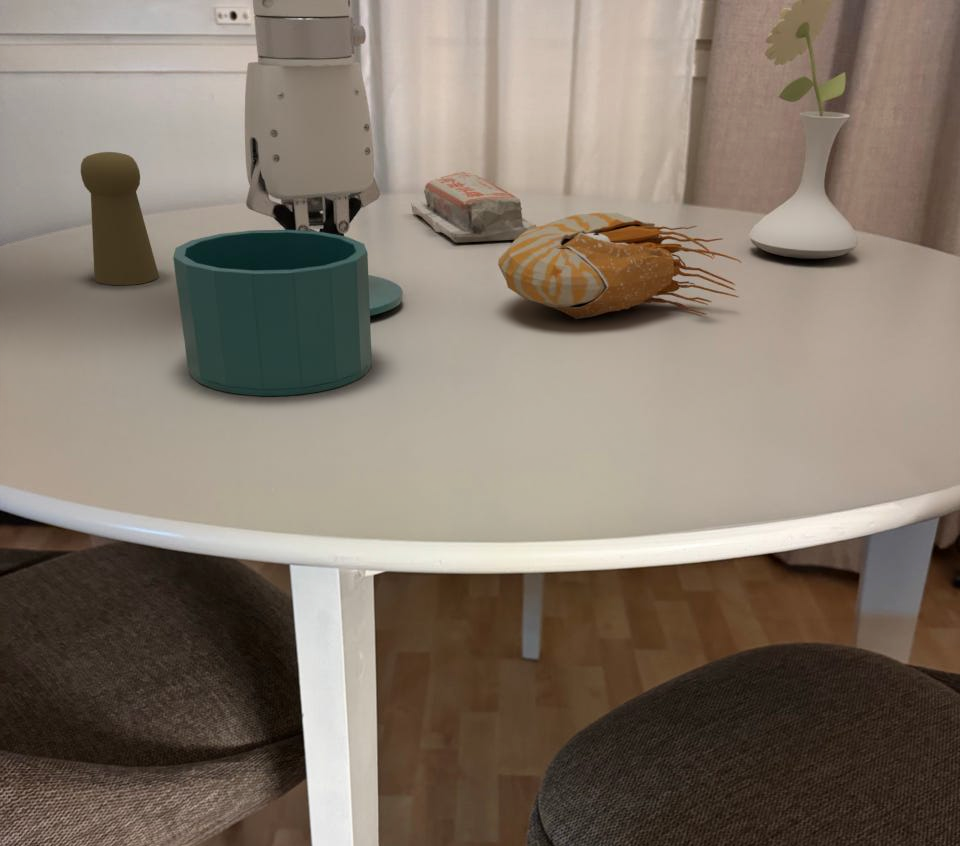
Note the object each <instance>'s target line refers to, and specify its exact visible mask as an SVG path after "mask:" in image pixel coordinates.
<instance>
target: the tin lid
mask: <svg viewBox="0 0 960 846" xmlns="http://www.w3.org/2000/svg"><path fill="white" fill-rule="evenodd" d="M309 229H310V231H315V232H318V231H317V230H315V229H313V228H309ZM368 280H369V305H370V317H371V316H375V315H378V314H383V313H385V312H387V311H390V310H392V309H394V308H396V307H398V306H399V305H400V304H401V303H402V302H403V299H404V291H403V288H402V287H401V285H399V284H397V283H396V282H394V281H393V280H389V279H387V278H384V277H380V276H375V275H371V274H368Z"/></svg>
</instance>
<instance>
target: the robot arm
mask: <svg viewBox="0 0 960 846" xmlns="http://www.w3.org/2000/svg"><path fill="white" fill-rule="evenodd" d="M252 7H253V15H254V16H253V20H254V31H255V41H256V53H257V61H252V62H247V68H246V78H245V80H246V81H245V93H244V94H245V96H244V147H245V149H244V150H245V151H244V152H245V153H244V154H245V168H246V176H247V181H248V184H249V187H248V188H249V189H248V193H247V197H246V200H245V204H246V208H247V209H249V210H250V211H252V212H255V213H258V214H261V215H264V216H268V217H270V218H273V219H274V220H275V221H276V222H277V223H278V224H279V225H280V226H281V227H282V228H283V230H300V231H310V229H311V228H310V225H309V218H308V206H307V198H314V197H322V203H323V211H322V213H323V222H324V223H323V224H322V227H321V228H319V230H318V232H324V233H329V234H335V235H340V236H345V234H347V233H348V232H349V230H350V227H351V226H350V224H351V223H352V222H353V220H354V219H355V217H356V216H357V215H358V213H359V212H360V210H361V209H362V208H366V207H367V206H368V205H370V204H372V203H375V202H376V201H377V200H378V199H379V198H380V197H381V193H380V189H379V186H378V184H377V181H376V178H375V156H374V155H375V154H374V153H375V152H374V142H373V131H372V123H371V114H370V109H369V107H370V106H369V102H368V96H367V91H366V87H365V81H364V77H363V73H362V69H361V65H360V62H358V61H354V59H353V55H354V54H355V47H356V46H357V45H364V44H365V42H366V36H367V34H366V30H365V27H364V26H363V25H356V24H355V23H354V20H353V19H354V18H353V17H352V16H351V1H350V0H252ZM270 196H271V197H272V198H275V199H277V200H280V202H276V201H273V200H271V199H270Z"/></svg>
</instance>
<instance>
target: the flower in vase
mask: <svg viewBox="0 0 960 846" xmlns="http://www.w3.org/2000/svg"><path fill="white" fill-rule="evenodd" d="M832 6H833V3H832V0H794V2H793V3H792V5H791V8H790V7H785V8H783V9H782V10H781V12H780V14H779V19H780V20H778V22H776V24H774V25H773V26H772V28H771V31H770V33H769V34H768V35H767V37H766V38H765V43H766V44H770V45H769V47H767V49H765V51H764V56H766V58H767V59H768V60H769V61H772V60H774V62H773V65H775V66H778V65H781V66H783V65H785V64H786V63H788V62H792V61H794V60H795V59H796V58H797V56H798V55H799V56H802V55H803V54H804V53H806V52H807V50H808V53H809V57H810V64H811V75H812V79H810V78H809V77H808V76H800V77H798V78H796V79H793V80H792V81H790V82H789V83H788V84H787V85H786V86H784V88H783V89H782V90H781V92H780V94H779V96H778V98H779V99H781V100H784V101H786V102H790V103H795V102H797V101H800V100H801V99H802V98H803V97H804V96H805V95H806V94H808V92H809V91H811V89H812V87H813V89H814V93H815V98H816V102H817V107H818V110H817V111H816V110H812V111H811V110H810V111H801V112H798V116H799V118H800V120H801V122H802V125H803V128H804V134H805V157H804V167H803V173H802V176H801V180H800V183H799V186H798V188H797V190H796V191H795V193H794V194H793V195H792V196H790V197H789V199H787V200H786V201H784V202H783V203H782V204H781V205H779V206H778V207H776V208H775V209H773V210H772V211H770V212H769V213H768V214H766V215H765V216H764V217H762V218H761V219H760V220H759V221H758V222H757V223H756V224H755V225H754V226H752V229H751V230H750V233H749V235H748V237H749V240H750V242H751V244H753V245H754V246H755V247H757V248H759V249H760V250H762V251H764V252H766V253H770V254H773V255H776V256H781V257H785V258H794V259H803V260H804V259H805V260H806V259H807V260H816V259H817V260H818V259H819V260H820V259H828V258H835V257H836V258H837V257H840V256H843V255H845V254H849V253H850V252H852V251H854V249H856V247H857V246H858V244H859V241H858V234H857V232H856V231H855V230H854V228H853V226H852V224H850V222H849V221H848V220H847V219H846V218H845V216H843V214H842V213H841V212H840V211H839V210H838V209H837V208H836V206H834V204H833V203H832V202H831V200H830V199H829V197H828V196H827V193H826V189H825V178H826V172H827V167H828V162H829V158H830V153H831V150H832V147H833V144H834V142H835V139H836V138H837V137H836V136H837V134H838V133H839V131H840V129H841V128H842V127H843V125H844V124H845V123H846V122H847V120H848V119H849V118H850V116H851V115H850V114H848V113H845V112H844V113H843V112H838V111H837V112H836V111H824V109H823V104H822V102H825V101H828V100H832V99H834V98H838V97H840V96H842V95H843V94H844V92H845V90H846V82H847V81H846V77H847V76H846V72H845V71H844V72H842V73H840V74H838V75H837V76H835V77H833V78H831V79H829V80H827V81H825V82H822V83H821V84H819V85H818V81H817V73H816V72H817V71H816V61H815V54H814V50H813V45H812V44H813V43H814V42H815V41H816V39H817V37H818V36H820V34H821V33H822V32H823V31H824V26H823V25H824V24H825V23H826V21H827V20H828V18H829V13H830V11H831V8H832Z"/></svg>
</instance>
